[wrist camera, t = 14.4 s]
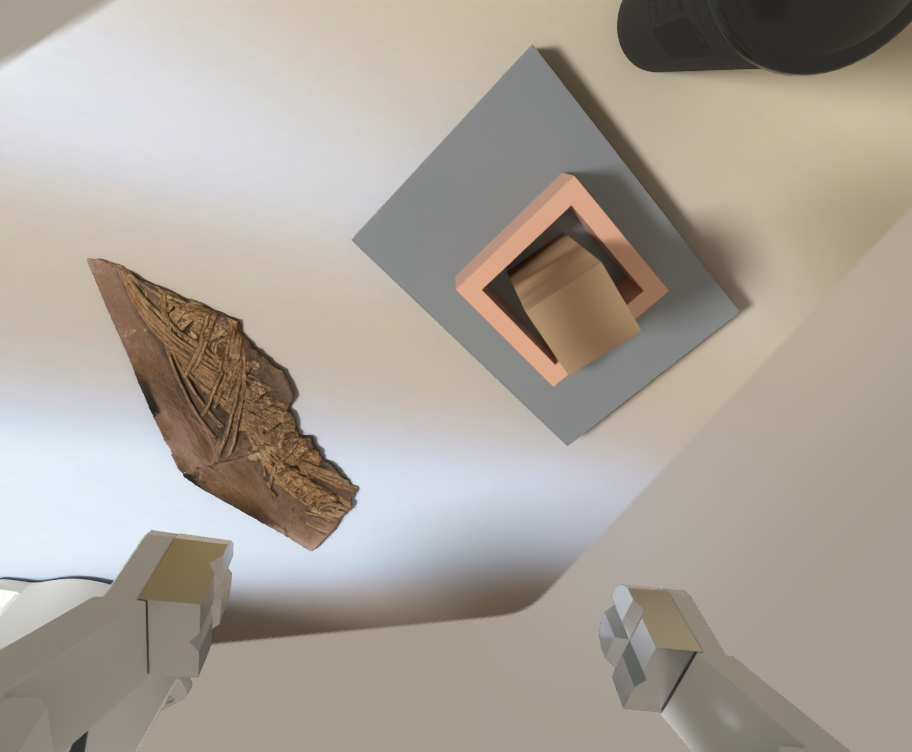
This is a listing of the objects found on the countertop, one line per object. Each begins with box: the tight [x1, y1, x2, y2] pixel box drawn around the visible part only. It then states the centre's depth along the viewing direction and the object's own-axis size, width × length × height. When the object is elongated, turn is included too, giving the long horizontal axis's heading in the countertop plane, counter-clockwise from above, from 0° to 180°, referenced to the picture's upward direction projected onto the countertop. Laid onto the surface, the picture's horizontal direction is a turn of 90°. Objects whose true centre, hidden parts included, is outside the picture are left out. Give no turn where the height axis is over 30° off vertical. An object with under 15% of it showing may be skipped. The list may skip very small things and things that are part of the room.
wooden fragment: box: [87, 258, 357, 551], centre depth 37 cm, size 26×11×1 cm, turn 23°
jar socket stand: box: [352, 44, 739, 446], centre depth 31 cm, size 14×20×4 cm
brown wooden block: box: [507, 233, 642, 376], centre depth 28 cm, size 4×4×8 cm
